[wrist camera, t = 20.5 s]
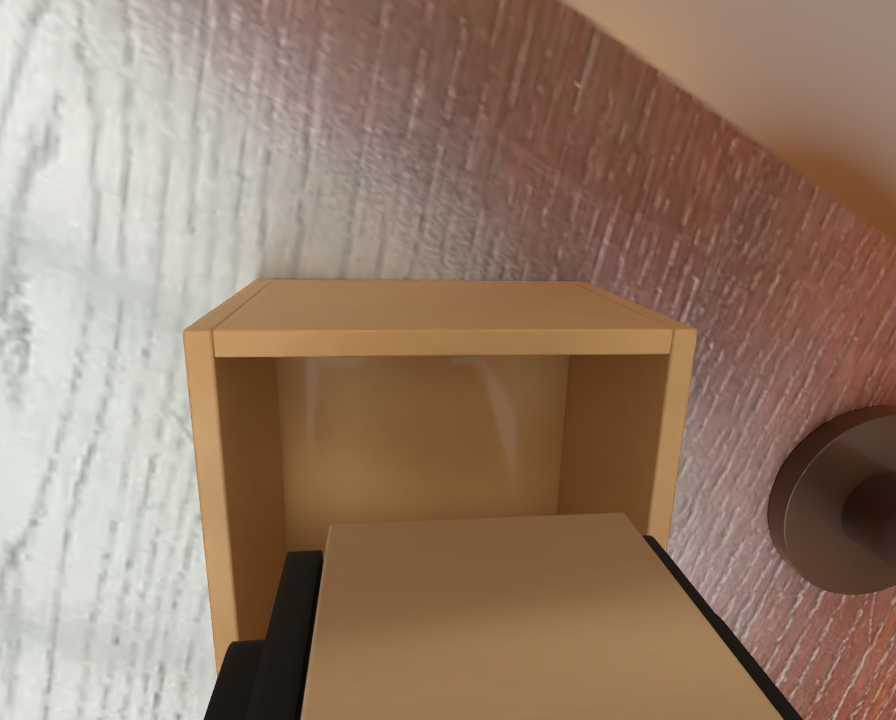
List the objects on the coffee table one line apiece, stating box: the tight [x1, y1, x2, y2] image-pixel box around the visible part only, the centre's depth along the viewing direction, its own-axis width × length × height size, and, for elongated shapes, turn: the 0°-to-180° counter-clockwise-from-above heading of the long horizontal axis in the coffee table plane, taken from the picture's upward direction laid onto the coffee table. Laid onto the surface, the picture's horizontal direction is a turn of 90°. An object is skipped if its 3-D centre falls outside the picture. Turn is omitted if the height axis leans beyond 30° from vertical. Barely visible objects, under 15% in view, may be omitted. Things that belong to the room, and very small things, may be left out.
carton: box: [183, 279, 697, 678], centre depth 18 cm, size 13×11×8 cm
